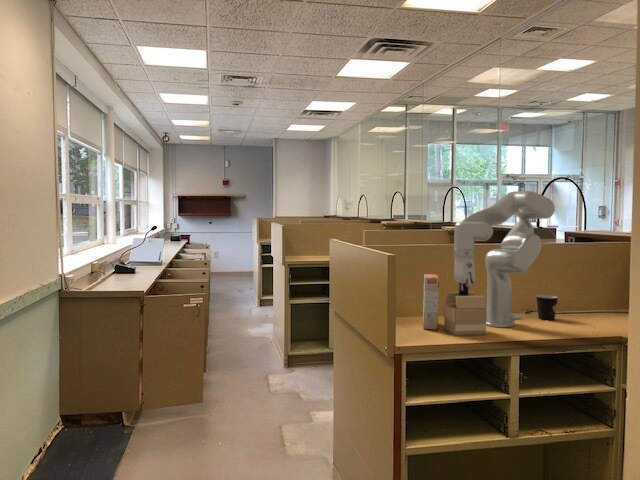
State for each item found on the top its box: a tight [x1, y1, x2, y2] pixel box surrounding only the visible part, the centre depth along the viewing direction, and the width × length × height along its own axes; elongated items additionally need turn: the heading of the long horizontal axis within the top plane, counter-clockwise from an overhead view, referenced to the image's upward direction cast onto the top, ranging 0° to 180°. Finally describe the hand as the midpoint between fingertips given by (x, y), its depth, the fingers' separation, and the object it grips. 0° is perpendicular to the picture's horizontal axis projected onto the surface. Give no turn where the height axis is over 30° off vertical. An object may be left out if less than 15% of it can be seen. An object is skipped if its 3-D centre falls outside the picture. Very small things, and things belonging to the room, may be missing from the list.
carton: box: [443, 303, 487, 337], centre depth 191 cm, size 13×11×10 cm
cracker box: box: [422, 273, 440, 331], centre depth 201 cm, size 14×6×21 cm, turn 168°
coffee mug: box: [536, 294, 559, 322], centre depth 216 cm, size 12×9×10 cm
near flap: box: [456, 294, 487, 309], centre depth 186 cm, size 11×5×1 cm
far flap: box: [445, 291, 475, 304], centre depth 195 cm, size 11×5×1 cm
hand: (463, 300), depth 192 cm, fingers closed
